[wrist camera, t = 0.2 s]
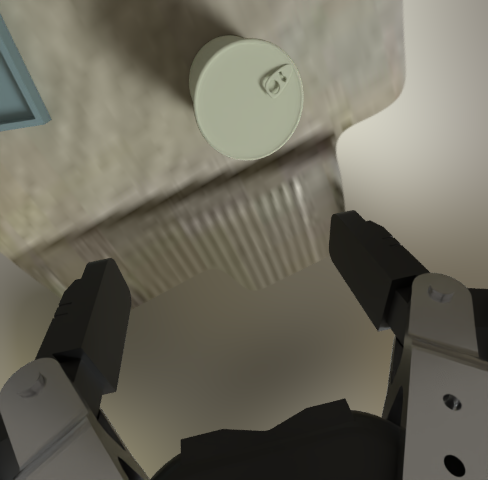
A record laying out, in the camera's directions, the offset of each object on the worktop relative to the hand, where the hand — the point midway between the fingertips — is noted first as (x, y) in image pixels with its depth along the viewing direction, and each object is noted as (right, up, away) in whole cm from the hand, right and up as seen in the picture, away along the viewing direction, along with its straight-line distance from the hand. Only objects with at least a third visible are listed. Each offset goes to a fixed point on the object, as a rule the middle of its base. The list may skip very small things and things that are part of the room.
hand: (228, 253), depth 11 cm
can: (-1, +18, +22) cm, 29 cm away
